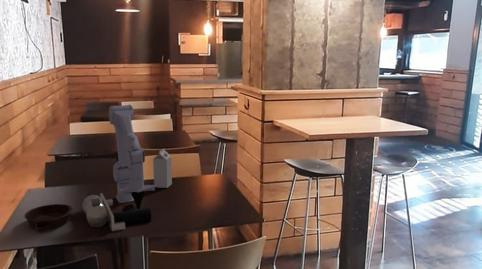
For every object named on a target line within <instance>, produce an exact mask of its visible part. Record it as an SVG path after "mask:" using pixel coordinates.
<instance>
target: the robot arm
mask: <svg viewBox="0 0 482 269" xmlns="http://www.w3.org/2000/svg"><path fill="white" fill-rule="evenodd" d="M108 117H109V123H110V125H111V126H112V125H113V126H114V131H115V140H116V148H117V158H118V161H116V162H115V164H114V165H113V166H112V170H113V171H112V175H113V180H114V181H115V182H116V184H117V185H116V187H117V195H115V198H116V200H117V202H118V204H124V203H129V202H134V204H135V209H136V210H139V209H141V205H142V202H143V199H144V197H145V194H146V193H145V192H148V191H152V192H153V191H156V189H155V188H156V187H155V186H154V184H145V180H144V179H145V178H144V177H145V175H144V163H145V161H146V155H145V151H144V149H143V148H142V147H141V145H140V142H139V139H138V138H139V137H138V136H137V135H135V134H134V129H133V124H132V120H133V117H134V106H133V105H132V104H125V105H110V106H109V108H108Z"/></svg>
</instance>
